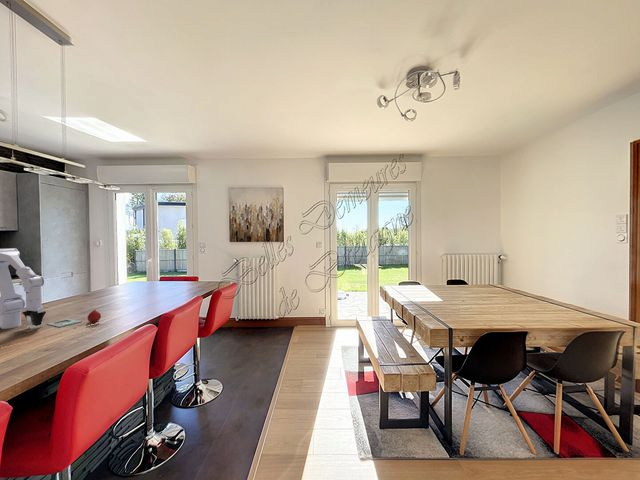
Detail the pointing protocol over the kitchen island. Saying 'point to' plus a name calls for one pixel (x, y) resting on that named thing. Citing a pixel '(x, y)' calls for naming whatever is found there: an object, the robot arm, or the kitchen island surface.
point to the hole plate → (64, 323)
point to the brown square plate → (33, 329)
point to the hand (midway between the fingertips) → (34, 324)
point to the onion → (94, 316)
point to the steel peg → (32, 323)
